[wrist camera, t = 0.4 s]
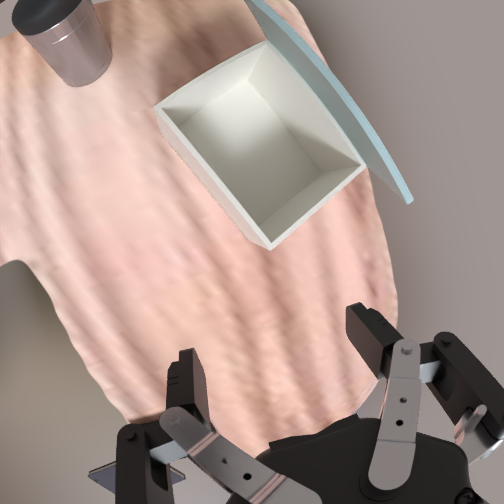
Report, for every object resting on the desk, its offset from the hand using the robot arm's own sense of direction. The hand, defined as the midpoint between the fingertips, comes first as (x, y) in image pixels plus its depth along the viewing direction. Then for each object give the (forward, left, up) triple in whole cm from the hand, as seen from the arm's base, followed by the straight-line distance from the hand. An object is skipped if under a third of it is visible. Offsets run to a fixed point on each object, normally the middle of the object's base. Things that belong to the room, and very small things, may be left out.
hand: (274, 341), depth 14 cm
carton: (-9, +13, -29) cm, 33 cm away
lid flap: (-9, +17, -10) cm, 21 cm away
